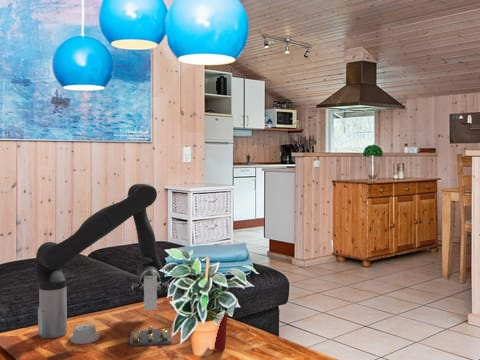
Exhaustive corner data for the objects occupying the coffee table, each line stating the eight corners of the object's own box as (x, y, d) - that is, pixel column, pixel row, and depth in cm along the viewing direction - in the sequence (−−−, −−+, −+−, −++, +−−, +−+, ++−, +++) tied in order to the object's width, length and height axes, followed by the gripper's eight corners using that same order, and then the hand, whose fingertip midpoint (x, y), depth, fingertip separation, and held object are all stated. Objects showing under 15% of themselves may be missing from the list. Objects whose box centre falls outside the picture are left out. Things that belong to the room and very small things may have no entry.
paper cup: (230, 344, 174) (230, 304, 173) (224, 353, 166) (225, 311, 165) (208, 342, 175) (208, 302, 175) (202, 350, 168) (202, 309, 167)
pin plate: (129, 346, 171) (129, 334, 171) (130, 333, 183) (130, 323, 183) (171, 343, 174) (171, 332, 174) (169, 331, 186) (169, 321, 185)
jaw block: (144, 310, 175) (143, 279, 175) (144, 306, 180) (143, 275, 179) (157, 309, 176) (156, 278, 175) (156, 305, 180) (156, 275, 180)
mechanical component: (84, 332, 185) (63, 341, 176) (84, 320, 185) (63, 329, 176) (105, 337, 180) (84, 346, 171) (105, 325, 180) (84, 334, 171)
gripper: (131, 271, 190) (129, 283, 173) (169, 270, 193) (171, 281, 176) (131, 291, 191) (129, 304, 174) (169, 289, 193) (171, 302, 176)
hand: (150, 293), depth 175 cm, fingers closed on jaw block, 4 cm apart
